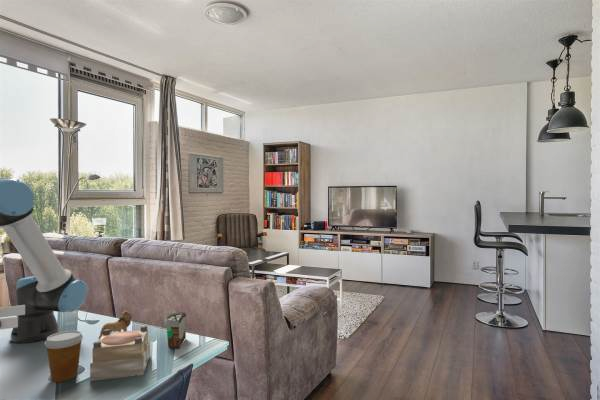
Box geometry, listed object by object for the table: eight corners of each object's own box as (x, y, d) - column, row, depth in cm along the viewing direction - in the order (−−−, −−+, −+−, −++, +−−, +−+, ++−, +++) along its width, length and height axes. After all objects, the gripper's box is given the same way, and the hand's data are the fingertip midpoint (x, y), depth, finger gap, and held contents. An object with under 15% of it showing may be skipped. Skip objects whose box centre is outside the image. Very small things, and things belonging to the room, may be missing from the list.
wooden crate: (102, 361, 119) (102, 329, 119) (149, 356, 122) (149, 325, 123) (90, 381, 105) (90, 344, 105) (143, 374, 109) (143, 339, 109)
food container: (169, 338, 139) (169, 311, 139) (186, 337, 139) (186, 310, 139) (160, 351, 126) (159, 321, 127) (178, 350, 127) (178, 321, 127)
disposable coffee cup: (65, 386, 102) (64, 342, 103) (36, 383, 104) (36, 340, 104) (91, 371, 112) (90, 331, 112) (64, 368, 114) (63, 329, 114)
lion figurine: (124, 331, 146) (124, 309, 147) (135, 333, 145) (135, 310, 145) (93, 345, 133) (92, 320, 133) (104, 347, 131) (104, 321, 131)
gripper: (-67, 329, 103) (27, 317, 114) (-108, 361, 81) (13, 342, 92) (-67, 302, 103) (27, 293, 114) (-107, 326, 82) (14, 312, 92)
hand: (21, 315), depth 103 cm, fingers open, 13 cm apart
